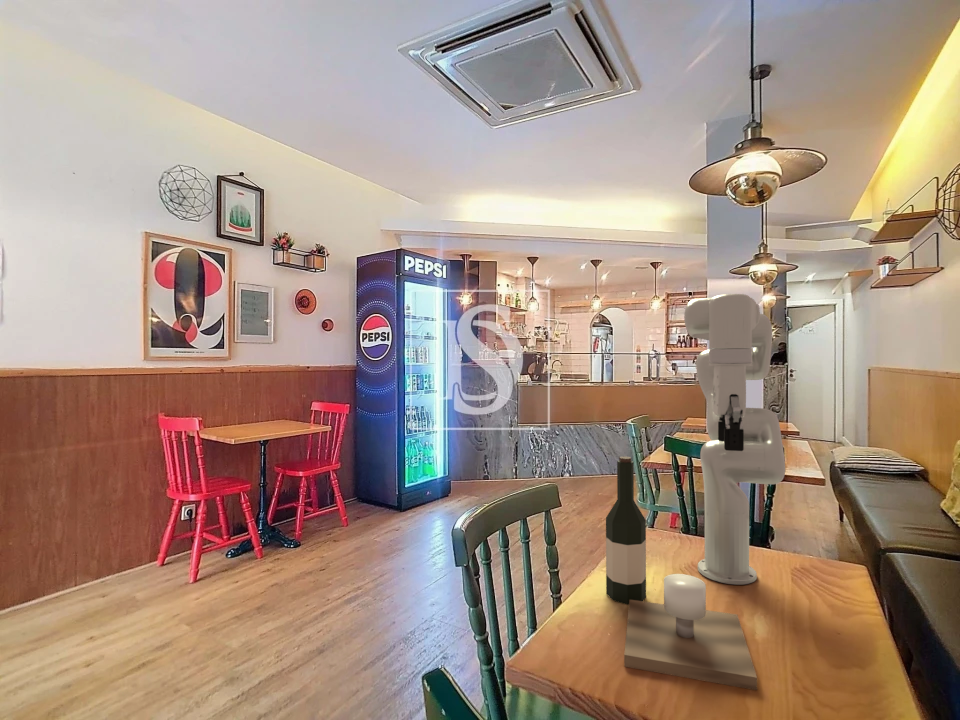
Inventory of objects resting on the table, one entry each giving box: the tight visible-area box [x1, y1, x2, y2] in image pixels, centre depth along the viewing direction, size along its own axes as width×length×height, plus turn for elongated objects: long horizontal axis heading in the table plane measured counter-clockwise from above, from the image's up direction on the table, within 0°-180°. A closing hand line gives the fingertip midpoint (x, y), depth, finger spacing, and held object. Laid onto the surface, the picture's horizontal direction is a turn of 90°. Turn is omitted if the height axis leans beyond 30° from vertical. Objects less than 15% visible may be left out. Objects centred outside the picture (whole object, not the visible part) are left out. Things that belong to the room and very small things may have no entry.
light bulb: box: [663, 573, 707, 620], centre depth 94 cm, size 7×9×5 cm
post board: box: [623, 600, 758, 691], centre depth 93 cm, size 20×20×6 cm
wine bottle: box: [605, 456, 647, 606], centre depth 112 cm, size 8×8×30 cm
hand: (730, 445), depth 101 cm, fingers open, 9 cm apart
